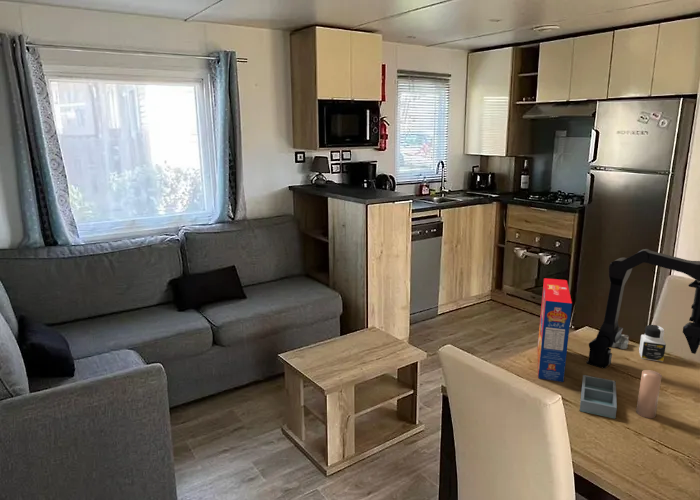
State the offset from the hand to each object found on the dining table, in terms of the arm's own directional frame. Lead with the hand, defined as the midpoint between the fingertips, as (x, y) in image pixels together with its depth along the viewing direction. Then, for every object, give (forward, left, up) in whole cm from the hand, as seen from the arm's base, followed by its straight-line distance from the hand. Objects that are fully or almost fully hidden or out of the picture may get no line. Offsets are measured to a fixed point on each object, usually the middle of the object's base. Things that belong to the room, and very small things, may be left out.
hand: (696, 349), depth 162 cm
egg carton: (-30, +22, -15) cm, 40 cm away
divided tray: (-19, -28, -15) cm, 37 cm away
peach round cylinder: (-6, -25, -15) cm, 30 cm away
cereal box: (-41, -12, -15) cm, 45 cm away
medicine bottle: (-16, +20, -15) cm, 30 cm away
